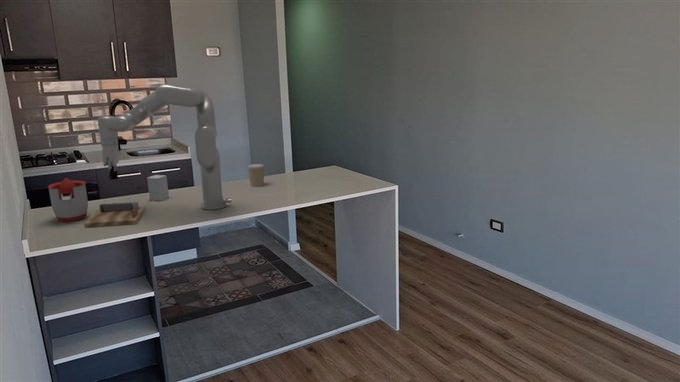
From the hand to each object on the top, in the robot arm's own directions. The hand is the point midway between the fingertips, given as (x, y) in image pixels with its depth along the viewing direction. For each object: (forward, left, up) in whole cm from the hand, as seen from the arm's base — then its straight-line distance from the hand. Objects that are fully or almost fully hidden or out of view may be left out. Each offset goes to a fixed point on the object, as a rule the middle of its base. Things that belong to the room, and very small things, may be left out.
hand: (114, 179), depth 235 cm
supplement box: (-16, -20, -17) cm, 31 cm away
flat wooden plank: (-2, +12, -17) cm, 21 cm away
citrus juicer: (+19, +8, -17) cm, 27 cm away
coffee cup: (-69, -39, -17) cm, 81 cm away
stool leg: (-2, +5, -14) cm, 15 cm away
